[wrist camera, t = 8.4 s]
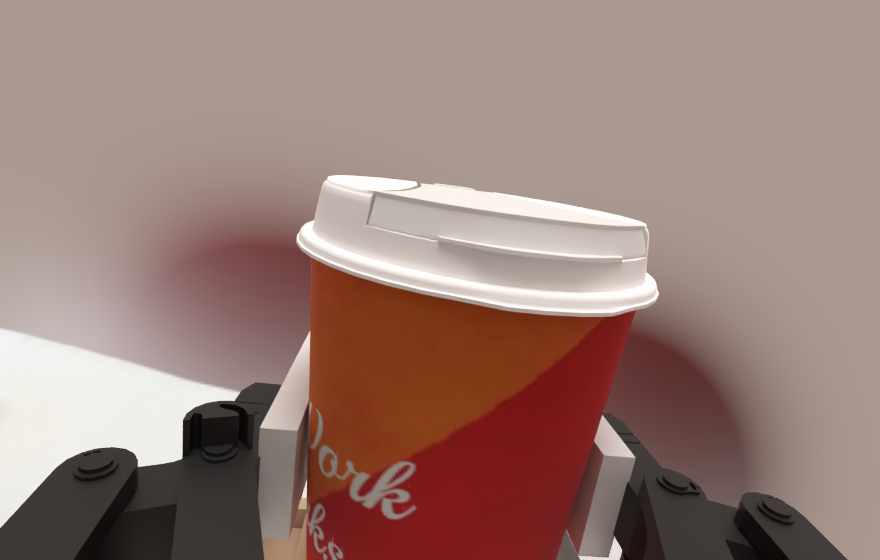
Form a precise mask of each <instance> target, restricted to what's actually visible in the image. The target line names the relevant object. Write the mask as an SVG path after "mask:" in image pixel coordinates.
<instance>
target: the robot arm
mask: <svg viewBox="0 0 880 560" xmlns="http://www.w3.org/2000/svg"><path fill="white" fill-rule="evenodd" d="M309 369H310V332H309V334H308V336H307V338H306V340H305V342H304V344H303V346H302V348H301V350H300V351H299V353H298V355H297V357H296V359H295V361H294V363H293V365H292V367H291V369H290V371H289V373H288V375H287V376H286V378H285V380H284V382H283V384H282V385H276V384H265V383H254V384H252V385H250V386H249V387H247V388H245V389H244V390H242V391H241V392H240V394H239V395H238V397H237V398H236V400H235V401H216V402H210V403H206V404H203V405H200V406H198V407H195V408H194V409H192V410H191V411H190V412H188V413H187V414H186V416H185V418H184V420H183V458H182V459H181V460H178V461H175V462H171V463H165V464H159V465H151V466H143V467H138V460H137V458H136V456H135V454H134V453H132V452H130V451H128V450H127V449H122V448H114V447H111V448H98V449H93V450H89V451H86V452H83V453H80V454H78V455H76V456H73V457H71V458H69V459H67V460H66V461H64V462H63V463H62V464H60V465H59V466H58V467H57V468H56V469H55V470H54V471H53V472H52V473H51V474H50V475H49V476H48V477H47V478H46V479H45V480H44V482H43V483H42V484H41V485H40V486H39V487H38V488H37V489H36V490H35V491H34V492H33V493H32V495H31V496H30V497H29V498H28V499H27V500H26V501H25V502H24V503H23V504H22V505H21V506H20V508H19V509H18V510H17V511H16V512H15V513H14V514H13V515H12V516H11V517H10V518H9V519H8V521H7V522H6V523H5V524H4V525H3V526H2V527H1V528H0V560H264V552H263V543H262V539H279V540H289V538H290V534H291V531H292V527H293V524H294V521H295V517H296V514H297V510H298V507H299V504H300V500H301V497H302V493H303V490H304V486H305V483H306V480H307V467H308V418H309ZM566 530H567V532H568V534H569V536H570V539H571V541H572V543H573V545H574V548H575V550H576V552H577V554H578V556H593V557H609V553H610V550H611V546H612V542H613V539H614V536H615V538H616V540H617V541H618V543H619V545H620V547H621V549H622V554H621V557H620V560H847V559H846V558H845V557H844V556H843V555H842V554H841V553H840V552H839V551H838V550H837V549H836V548H835V547H834V546H833V545H832V544H831V543H830V542H829V541H828V540H827V539H826V538H825V537H824V536H823V535H822V534H821V533H820V532H819V531H818V530H817V529H816V528H815V527H814V526H813V525H812V524H811V523H810V522H809V521H808V520H807V519H806V518H805V517H804V516H803V515H801V514H800V513H799V512H798V511H797V510H795V509H794V508H793V507H791V506H789V505H788V504H786V503H785V502H783V501H782V500H780V499H778V498H774V497H773V496H770V495H764V494H760V493H751V492H750V493H748V492H747V493H745V494H744V495H742V497H741V500H740V502H739V505H738V508H734V507H731V506H727V505H724V504H720V503H716V502H713V501H709V500H707V498H706V495H705V493H704V492H703V491H702V489H701V488H700V486H698V485H697V484H696V483H695V482H693V481H692V480H691V479H689V478H688V477H686V476H684V475H682V474H680V473H678V472H675V471H672V470H669V469H665V468H661V466H660V465H659V464H658V463H657V461H656V460H655V459H654V458H653V457H652V455H651V454H650V453H649V452H648V451H647V450H646V448H645V447H644V446H643V445H641V443H640V441H639V440H638V439H637V438H636V436H633V433H632V432H631V430H630V429H629V428H628V427H627V426H626V425H625V423H623V422H622V421H621V420H619V419H618V418H616V417H615V416H613V415H612V414H610V413H603V415H602V418H601V421H600V424H599V427H598V430H597V433H596V436H595V440H594V443H593V446H592V449H591V452H590V455H589V458H588V462H587V465H586V468H585V471H584V474H583V477H582V480H581V484H580V487H579V490H578V493H577V496H576V499H575V502H574V505H573V509H572V512H571V515H570V518H569V521H568V524H567V527H566Z"/></svg>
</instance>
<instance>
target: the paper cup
mask: <svg viewBox="0 0 880 560" xmlns="http://www.w3.org/2000/svg"><path fill="white" fill-rule="evenodd" d="M297 245H298V246H299V247H300V249H301V250H302V251H303V252H305V253H306V254H307V255H309V256H310V257H312V268H311V269H312V271H311V318H310V321H311V322H310V323H311V324H310V369H309V418H308V467H307V520H306V560H556V559H557V556H558V552H559V549H560V546H561V543H562V540H563V537H564V534H565V531H566V527H567V524H568V521H569V518H570V515H571V512H572V509H573V505H574V502H575V499H576V496H577V493H578V490H579V487H580V484H581V480H582V477H583V474H584V471H585V468H586V465H587V462H588V458H589V455H590V452H591V449H592V446H593V443H594V440H595V436H596V433H597V430H598V427H599V424H600V421H601V418H602V415H603V411H604V408H605V405H606V402H607V399H608V396H609V393H610V390H611V386H612V383H613V380H614V377H615V374H616V371H617V368H618V364H619V361H620V358H621V355H622V352H623V349H624V346H625V343H626V339H627V336H628V333H629V330H630V327H631V324H632V320H633V318H634V314H635V311H636V310H638V309H642V308H646V307H648V306H650V305H652V304H653V303H655V302H656V300H657V298H658V295H659V293H658V290H657V285H656V282H655V280H654V278H652V277H651V276H650V275H649V274H648V273H646V268H647V257H648V247H649V232H648V230H647V228H646V224H645V223H642V222H640V221H637V220H634V219H630V218H627V217H623V216H619V215H615V214H610V213H606V212H601V211H596V210H591V209H587V208H581V207H576V206H571V205H566V204H560V203H555V202H549V201H543V200H538V199H531V198H526V197H520V196H513V195H507V194H500V193H494V192H489V193H488V192H481V191H474V189H473V188H466V187H458V186H451V185H444V184H436V183H435V184H434V185H429V184H422V183H420V185H419V187H418V188H417V184H416V182H413V181H405V180H396V179H386V178H376V177H364V176H347V175H346V176H345V175H335V176H329V177H328V179H327V180H326V181H325V182H324V183H323V185H322V188H321V192H320V197H319V201H318V205H317V210H316V214H315V218H314V220H313V221H310V222H308V223H306V224H305V225H304V226H303V227H302V228H301V230H300V233H299V234H297Z"/></svg>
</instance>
